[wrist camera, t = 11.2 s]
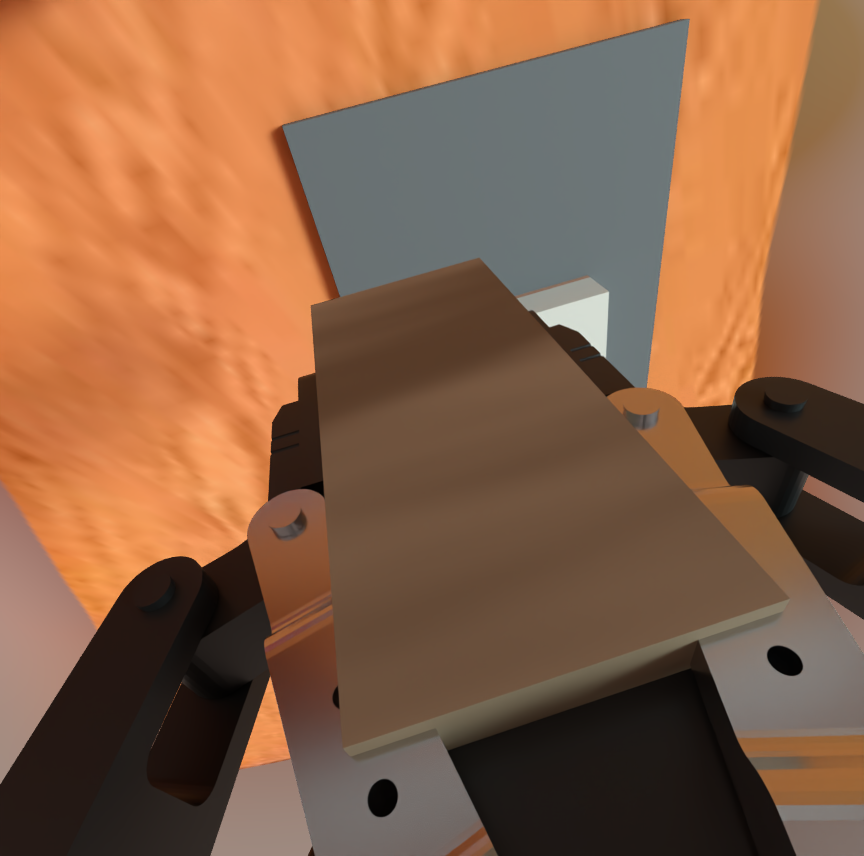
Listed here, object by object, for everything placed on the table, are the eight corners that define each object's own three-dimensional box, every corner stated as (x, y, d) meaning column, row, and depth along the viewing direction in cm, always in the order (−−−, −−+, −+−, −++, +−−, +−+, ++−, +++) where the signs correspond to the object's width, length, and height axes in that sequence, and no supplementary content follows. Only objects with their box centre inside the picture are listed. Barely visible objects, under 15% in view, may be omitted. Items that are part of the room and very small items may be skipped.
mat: (282, 124, 20) (282, 126, 20) (681, 19, 21) (689, 18, 21) (402, 479, 34) (404, 484, 34) (639, 406, 35) (643, 411, 35)
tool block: (310, 305, 11) (343, 748, 4) (479, 257, 11) (790, 598, 4) (361, 436, 13) (434, 844, 7) (497, 395, 14) (709, 748, 7)
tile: (444, 339, 25) (471, 472, 31) (608, 291, 25) (602, 432, 32) (434, 319, 27) (461, 449, 33) (587, 275, 27) (585, 411, 34)
